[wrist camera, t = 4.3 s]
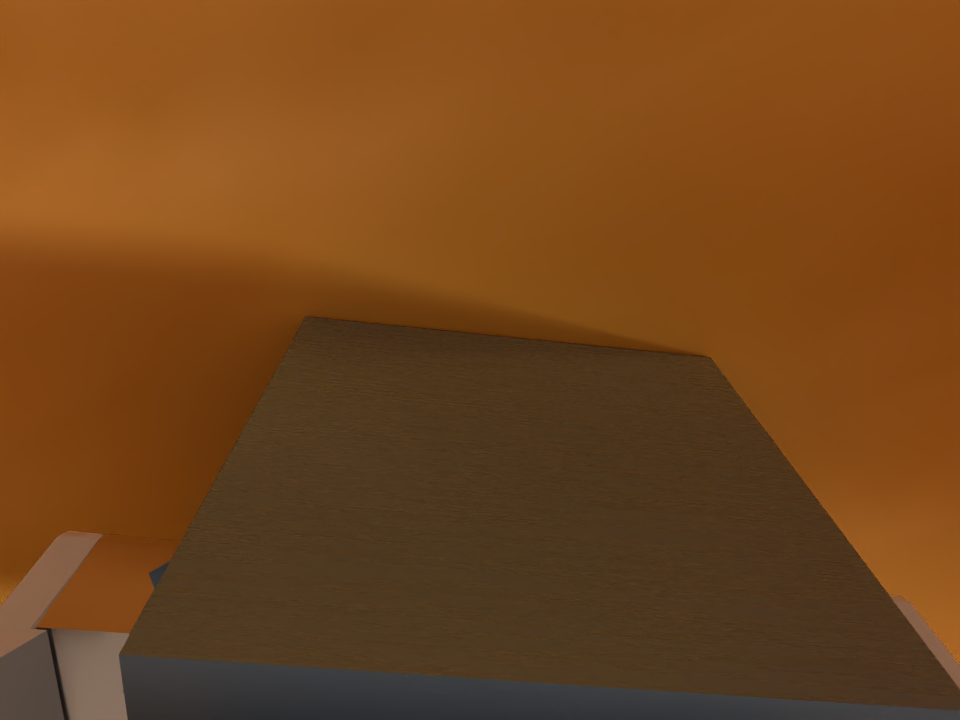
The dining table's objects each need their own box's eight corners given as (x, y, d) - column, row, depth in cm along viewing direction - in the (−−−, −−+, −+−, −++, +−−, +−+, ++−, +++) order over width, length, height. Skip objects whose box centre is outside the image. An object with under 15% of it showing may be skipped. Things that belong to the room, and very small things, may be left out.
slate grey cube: (710, 357, 10) (976, 711, 5) (627, 647, 13) (743, 1090, 8) (305, 316, 10) (118, 655, 5) (301, 624, 13) (178, 1076, 7)
